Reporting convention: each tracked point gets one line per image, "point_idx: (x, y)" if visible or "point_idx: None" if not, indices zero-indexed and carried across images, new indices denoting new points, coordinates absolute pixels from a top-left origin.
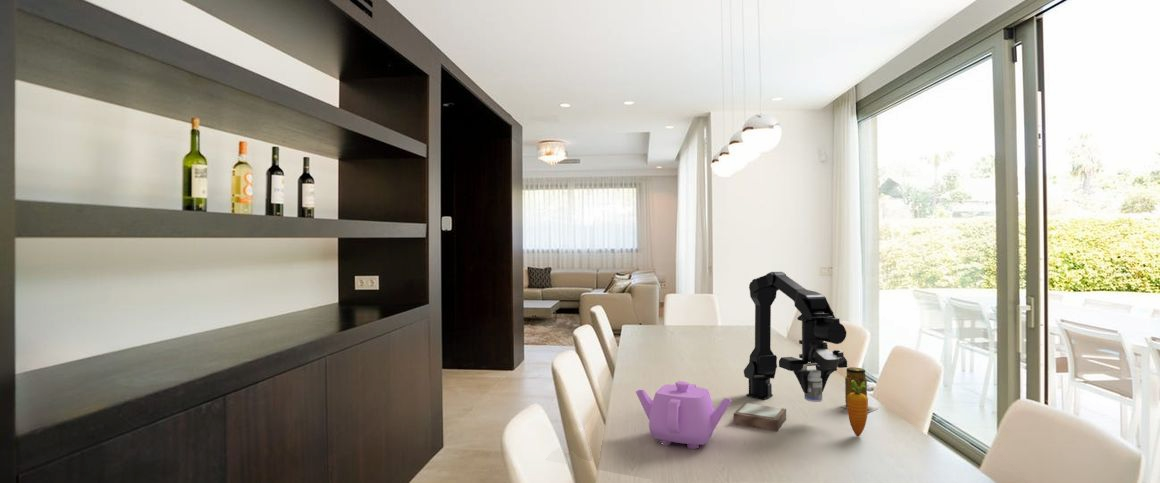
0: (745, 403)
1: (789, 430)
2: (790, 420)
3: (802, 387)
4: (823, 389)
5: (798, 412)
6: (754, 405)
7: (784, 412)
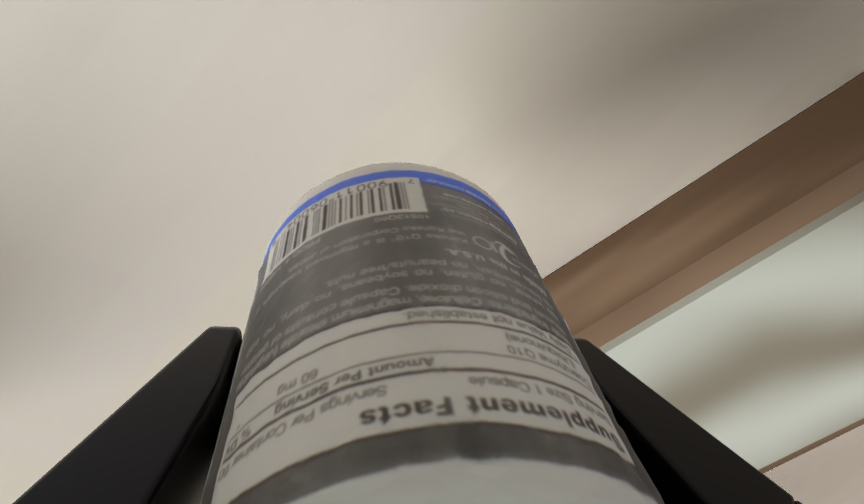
0: None
1: (762, 52)
2: None
3: None
4: (190, 352)
5: None
6: None
7: (625, 293)
